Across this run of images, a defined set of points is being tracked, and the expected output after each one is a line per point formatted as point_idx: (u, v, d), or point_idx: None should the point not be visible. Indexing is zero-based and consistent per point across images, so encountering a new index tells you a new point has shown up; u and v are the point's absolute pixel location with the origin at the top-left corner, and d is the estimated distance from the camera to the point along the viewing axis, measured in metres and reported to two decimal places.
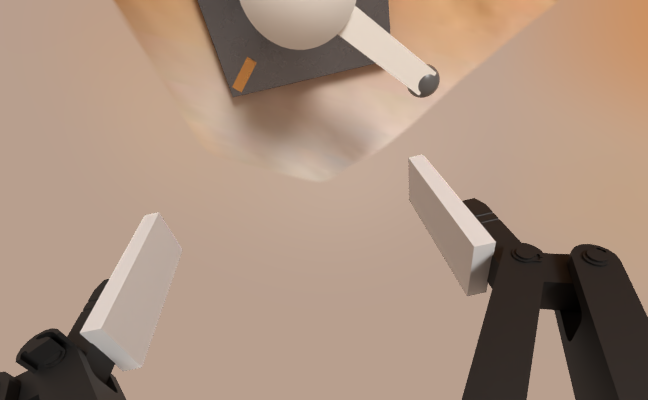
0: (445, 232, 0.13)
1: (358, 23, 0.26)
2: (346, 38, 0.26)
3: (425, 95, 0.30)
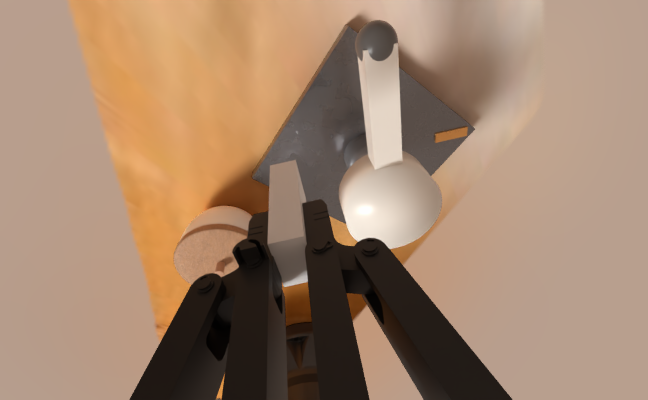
0: None
1: (384, 156, 0.26)
2: (400, 155, 0.27)
3: (391, 34, 0.21)
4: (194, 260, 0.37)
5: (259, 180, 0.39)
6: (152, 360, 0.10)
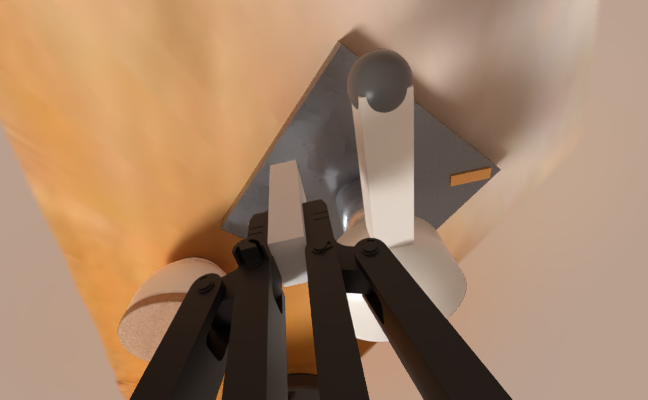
0: None
1: (388, 236, 0.19)
2: (411, 233, 0.19)
3: (404, 72, 0.13)
4: (144, 336, 0.29)
5: (230, 231, 0.31)
6: (152, 359, 0.10)
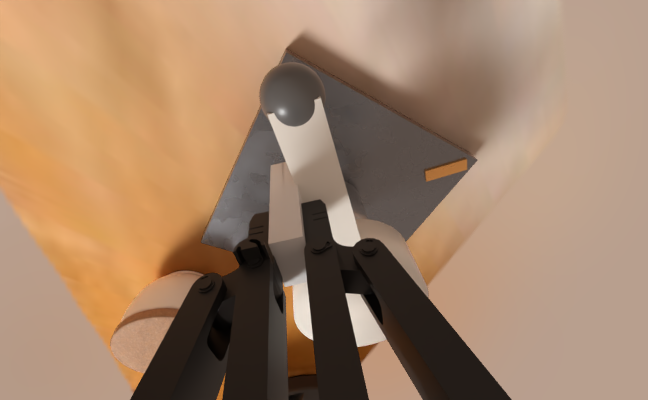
0: None
1: None
2: (358, 240, 0.18)
3: (308, 85, 0.13)
4: (136, 350, 0.30)
5: (210, 244, 0.32)
6: (153, 359, 0.10)
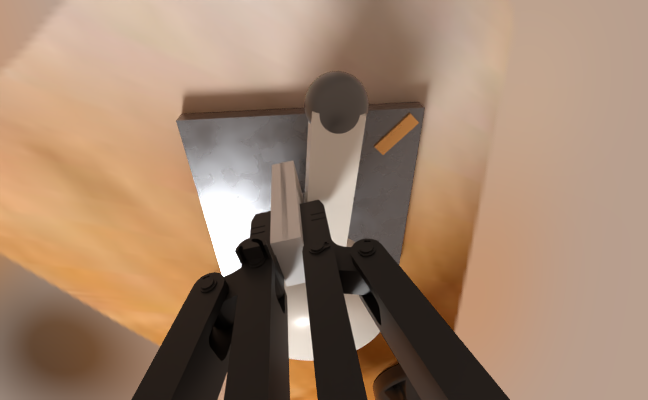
0: None
1: None
2: None
3: (360, 100, 0.14)
4: None
5: None
6: (155, 359, 0.10)
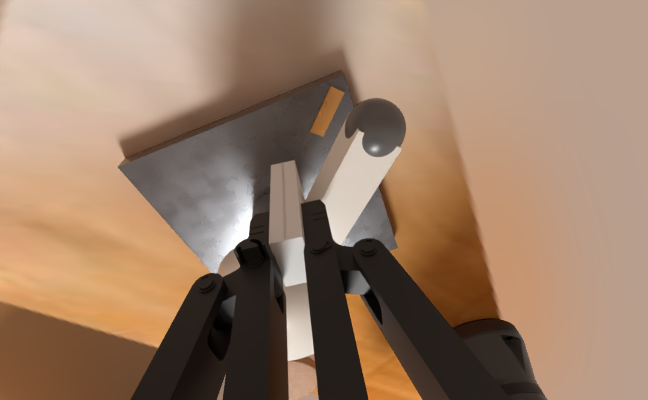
0: None
1: None
2: None
3: (402, 133, 0.15)
4: None
5: None
6: (153, 359, 0.10)
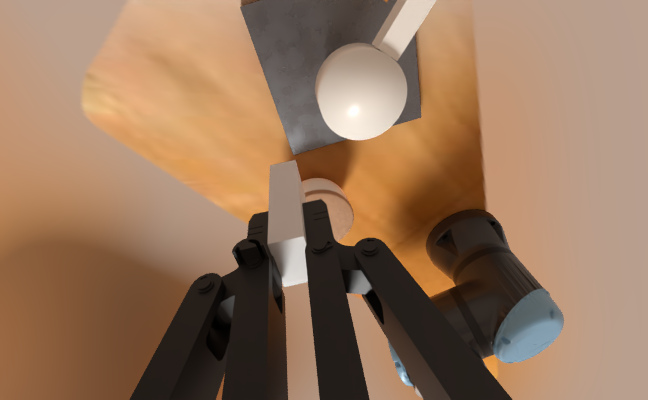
0: None
1: (391, 42, 0.30)
2: (401, 52, 0.30)
3: None
4: None
5: (298, 152, 0.48)
6: (152, 360, 0.10)
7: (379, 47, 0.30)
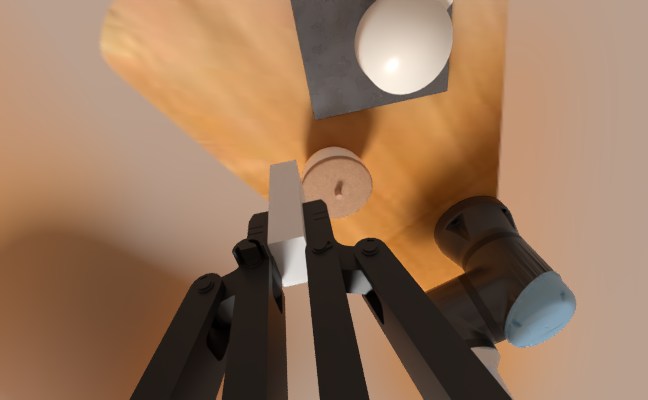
0: None
1: None
2: (451, 1, 0.30)
3: None
4: None
5: (321, 117, 0.47)
6: (152, 359, 0.10)
7: None
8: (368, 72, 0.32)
